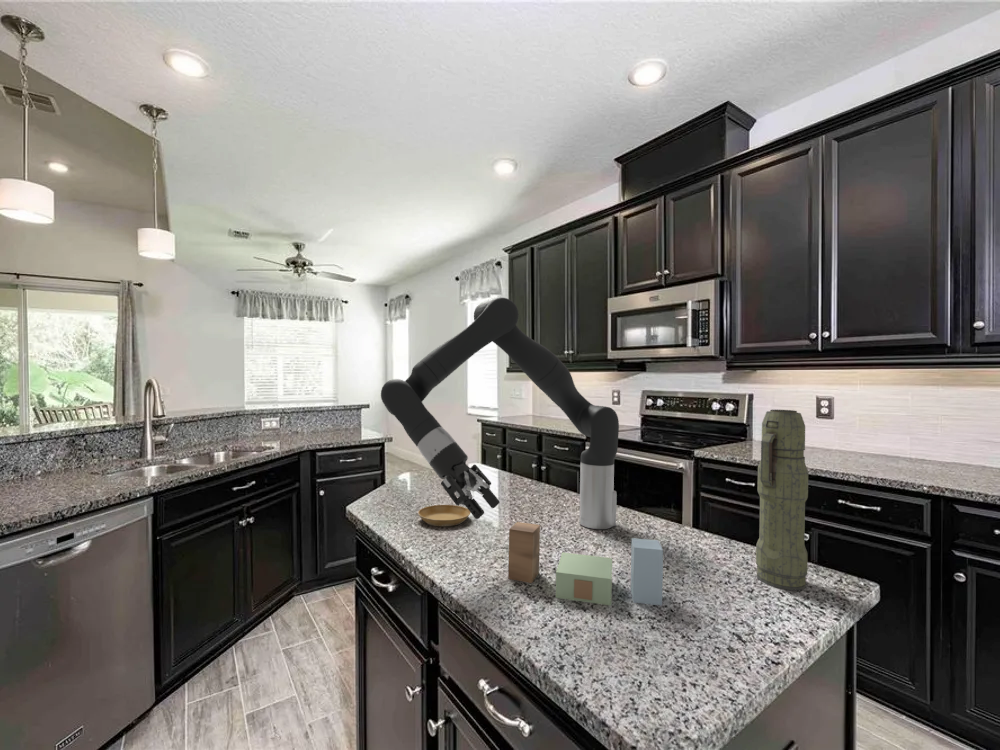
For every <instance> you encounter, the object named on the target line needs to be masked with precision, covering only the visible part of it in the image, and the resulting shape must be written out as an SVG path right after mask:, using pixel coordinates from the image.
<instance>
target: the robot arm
mask: <svg viewBox="0 0 1000 750" xmlns="http://www.w3.org/2000/svg"><path fill="white" fill-rule="evenodd" d="M519 314H520V313H519V310H518V306H517V305H516V304H515V303H514V301H513V300H511V299H509V298H506V297H501V296H500V297H499V296H498V297H494V298H490V299H487V300H484V301H482V302H481V303H479V304H477V306H476V307H475V309H474V312H473V322H472V323H471V324H469V325H468V326H467V327H466V328H465V329H463V330H461V332H459V333H457V334H456V335H454V336H453V337H451V338H450V339H448V340H446V341H445V342H444V343H442V344H441V345H438V346H437V347H436V348H435V349H433V350H432V351H431V352H429V353H428V354H427V355H426V356H424V357H423V358H422V359H421V360H419V361H418V362H417V363H416V364H415V365H414V366H413V367H412V369H411V372H410V373H411V374H410V375H409V376H408V378H406V380H403V379H399V378H392V379H390V380H389V379H388V380H387V381H386V382H385V383H384V384H383V386H382V387H381V390H380V398H381V401H382V403H383V405H384V407H385V408H386V410H387V411H388V412H389V414H391V415H392V416H394V417H395V418H396V420H397V421H398V422H399V423H400V424H401V426H402V427H403V429H404V431H405V433H406V434H407V436H408V437H409V438H410V439H411V441H412V443H413V444H414V445H415V446H416V447H417V449H418V450H419V452H420V454H421V455H422V456H423V458H424V460H425V461H426V462H427V463H428V465H429V466H430V467H431V468H432V469H433V471H434V472H435V473H436V475H438V477H439V478H440V480H442V481H441V482H440V485H441V487H443V489H444V490H445V492H446V493H447V494H448V496H449V497H450V498H451V499H452V501H453V503H454V505H456V506H460V505H461V506H462V507H465V508H467V509H468V510H469V511H470V512H471V513H470V515H472V516H473V518H474V519H476V520H479V519H480V518H481V517H482V516H484V514H485V510H484V509H483V508H482V506H481V505H480V504H479V502H478V501H477V500H476V499H475V498H474V497H473V495H472V492H476V493H478V494H480V495H481V497H482V498H483V499H484V501H485V503H487V504H488V506H489V507H490V508H491V509H495V508H496V507H497V506H498V505H499V504H500V502H501V501H500V500H499V499H498V497H497V495H495V493H493V491H492V490H491V485H492V482H491V480H489V477H487V476H486V475H485V474H484V473H483V471H482V470H481V469H480V468H479V467H478V466H477V465H476V464H475V463H474V464H473V465H472V466H469V465H467V462H468V459H469V457H468V454H467V453H465V451H464V450H463V449H462V448H461V446H460V444H458V443H457V441H455V439H454V438H453V437H452V435H451V434H450V433H449V432H448V431H447V430H446V429H444V427H443V426H442V425H441V424H440V423H439V421H438V420H437V419H436V418H435V416H434V415H433V414H432V413H431V412H430V411H429V410H428V408H426V406H425V405H424V403H423V401H424V400H425V399H426V398H427V397H428V395H429V394H430V393H431V391H432V390H434V388H436V387H438V385H440V384H441V383H442V382H443V381H444V380H445V379H447V378H448V377H449V376H450V375H451V374H452V373H454V372H455V371H456V370H457V369H459V367H461V366H462V365H463V364H464V363H465V362H467V361H468V360H469V359H470V358H471V357H473V356H475V354H476V353H477V352H480V351H481V349H482V350H483V348H484V347H486V346H488V345H489V344H491V343H494V344H495V345H496V346H497V347H499V348H500V349H501V350H502V351H503V352H504V353H505V354H506V355H507V356H508V357H509V358H511V360H512V361H513V362H514V364H516V366H517V367H519V368H520V370H521V371H522V372H523V373H524V374H525V375H526V376H527V377H528V378H529V379H530V381H532V382H533V383H534V384H535V386H536V387H537V388H539V390H540V391H542V392H543V393H544V394H545V395H546V396H547V397H548V398H549V399H550V400H551V401H552V402H553V403H554V404H555V405H556V406H557V407H558V408H560V410H561V411H562V412H563V413H564V414H565V415H566V416H567V418H568V419H569V420H570V421H571V423H572V424H573V426H574V427H575V428H576V429H577V430H578V432H579V433H580V434H582V435H583V436H584V437H585V436H586V437H587V438H589V439H590V440H589V447H588V448H587V449H585V450H583V451H582V452H581V454H580V465H579V466H580V468H579V469H580V474H579V475H580V476H579V477H580V478H579V481H580V482H579V515H578V517H579V521H578V522H579V525H581V526H583V527H585V528H588V529H594V530H608V529H611V528H613V527H616V526H617V498H618V497H617V496H618V495H617V491H616V490H614V488H615V485H614V484H615V483H614V481H615V480H614V477H615V458H616V455H617V453H618V449H619V448H618V446H619V445H618V444H619V433H620V420H619V417H618V414H617V412H616V410H614V409H613V408H611V407H609V406H603V405H595V404H592V403H591V402H590V401H589V400H588V399H586V398H585V397H584V396H583V395H582V394H581V393H580V392H579V391H578V388H577V387H576V385H575V381H574V379H573V376H572V373H571V372H570V370H569V369H568V367H567V366H566V365H565V364H564V363H563V362H562V361H561V360H560V359H559V357H558V356H556V354H555V353H553V352H552V351H551V350H550V349H548V348H547V347H545V346H544V345H542V344H541V343H539V342H537V341H536V340H534V339H532V338H531V337H530V336H528V335H526V334H525V333H524V332H523V330H521V329H520V328H519V327H518V326H517V324H518V322H519V317H520V316H519Z"/></svg>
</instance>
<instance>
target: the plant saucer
mask: <svg viewBox="0 0 1000 750" xmlns="http://www.w3.org/2000/svg"><path fill="white" fill-rule="evenodd" d="M417 514H418V516H419V517H420V519H421V520H422V521H423V522H424V523H426V524H428V525H429V526H433V527H434V526H435V527H452V526H453V527H454V526H458V525H460V524H462V523H463V522H464V521H466V520H467V519H468V518H469V516H470V515H471V512H470V511H469V510H468V509H467V507H466V506H462V505H461V506H460V505H456V504H435V505H428V506H426V507H422V508H421V509H419V510H418V511H417Z"/></svg>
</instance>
